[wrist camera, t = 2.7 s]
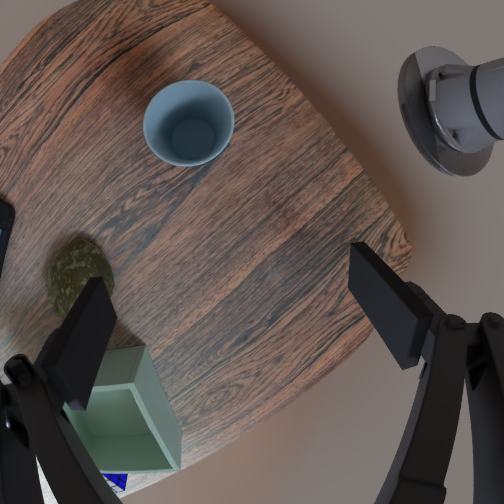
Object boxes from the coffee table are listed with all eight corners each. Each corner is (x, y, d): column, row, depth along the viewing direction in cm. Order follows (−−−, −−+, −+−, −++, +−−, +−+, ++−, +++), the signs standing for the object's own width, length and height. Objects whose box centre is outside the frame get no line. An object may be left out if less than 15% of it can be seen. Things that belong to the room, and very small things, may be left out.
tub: (146, 344, 38) (133, 382, 29) (181, 430, 42) (180, 471, 33) (48, 357, 36) (24, 389, 28) (92, 436, 40) (80, 472, 31)
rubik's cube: (109, 474, 42) (104, 495, 37) (88, 457, 41) (81, 478, 35) (129, 468, 42) (125, 491, 37) (107, 451, 41) (101, 473, 35)
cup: (186, 96, 32) (179, 64, 22) (239, 131, 34) (252, 110, 24) (148, 148, 33) (125, 135, 23) (201, 184, 35) (199, 183, 25)
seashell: (72, 224, 32) (83, 293, 26) (118, 242, 38) (138, 304, 32) (39, 277, 34) (48, 342, 29) (82, 288, 40) (97, 348, 35)
